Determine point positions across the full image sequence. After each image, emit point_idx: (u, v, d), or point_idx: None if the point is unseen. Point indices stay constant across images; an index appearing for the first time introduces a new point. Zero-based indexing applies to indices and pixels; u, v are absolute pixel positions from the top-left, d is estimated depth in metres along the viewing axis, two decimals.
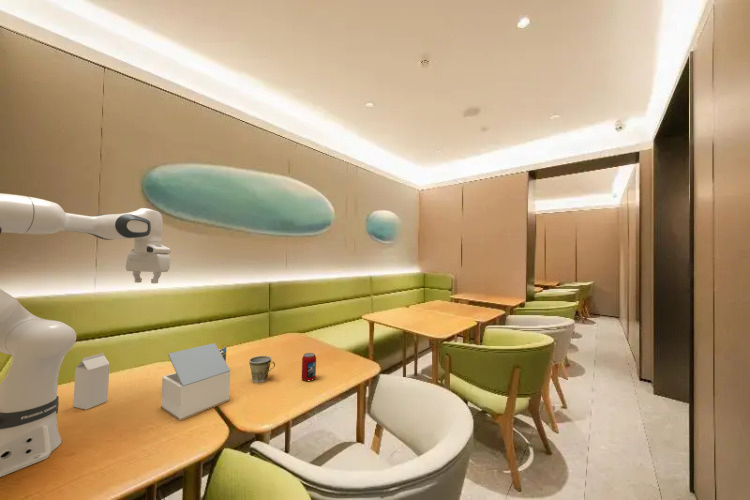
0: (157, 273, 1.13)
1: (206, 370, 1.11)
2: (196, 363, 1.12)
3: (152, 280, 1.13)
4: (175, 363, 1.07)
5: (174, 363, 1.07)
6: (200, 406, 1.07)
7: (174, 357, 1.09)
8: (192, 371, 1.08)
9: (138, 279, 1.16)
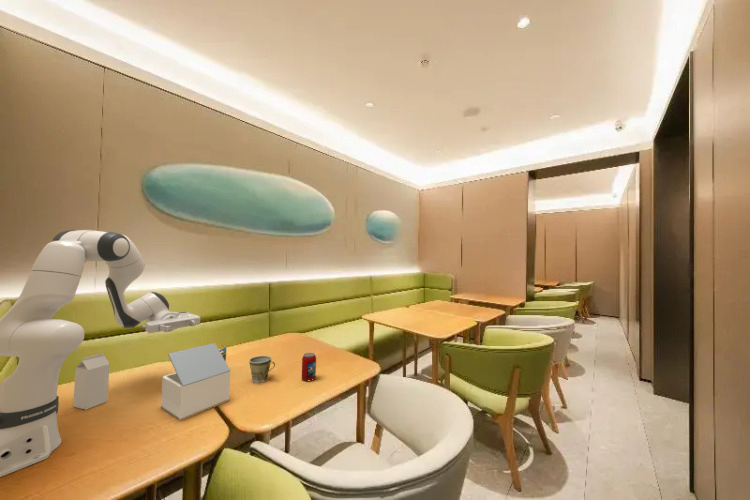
0: None
1: (206, 370, 1.11)
2: (196, 363, 1.12)
3: (192, 321, 1.27)
4: (175, 363, 1.07)
5: (174, 363, 1.07)
6: (200, 406, 1.07)
7: (174, 357, 1.09)
8: (192, 371, 1.08)
9: None
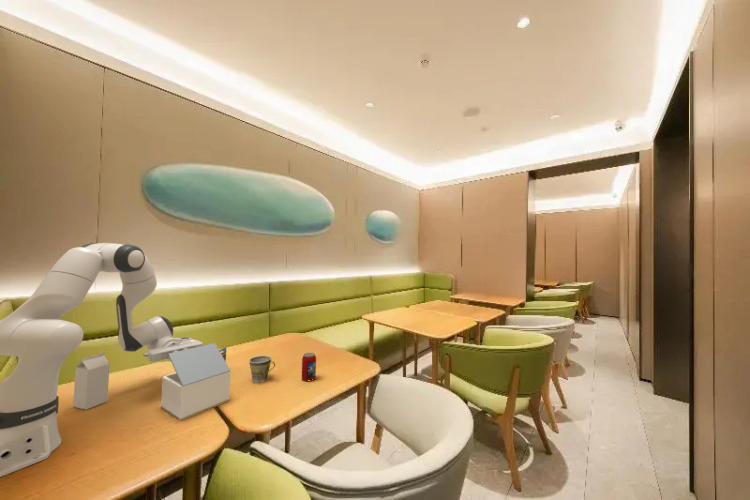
0: None
1: (206, 370, 1.11)
2: (196, 363, 1.12)
3: None
4: (175, 363, 1.07)
5: (174, 363, 1.07)
6: (200, 406, 1.07)
7: (174, 357, 1.09)
8: (192, 371, 1.08)
9: None
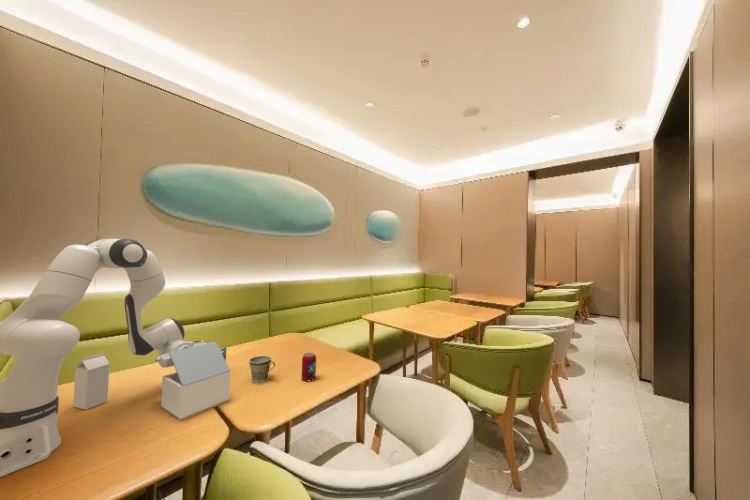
0: None
1: (206, 370, 1.11)
2: (196, 362, 1.12)
3: None
4: (175, 362, 1.07)
5: (175, 362, 1.07)
6: (200, 406, 1.07)
7: (174, 356, 1.09)
8: (192, 371, 1.08)
9: None
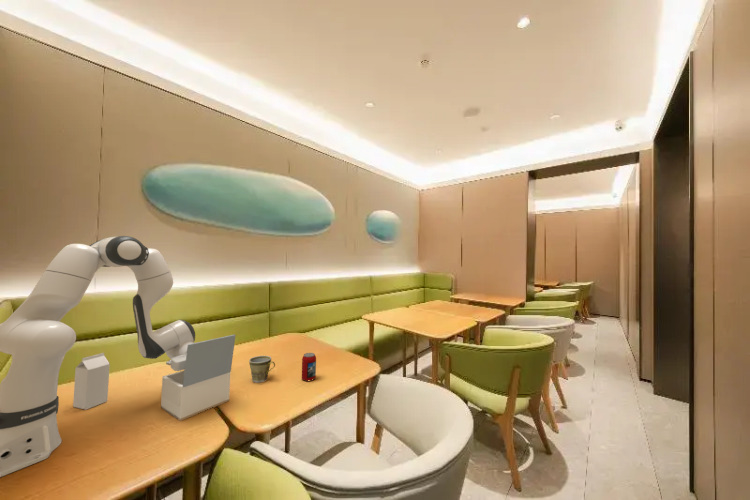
0: None
1: (211, 370, 1.10)
2: (207, 360, 1.08)
3: None
4: (188, 359, 1.02)
5: (188, 359, 1.02)
6: (200, 406, 1.07)
7: (191, 351, 1.02)
8: (198, 370, 1.06)
9: None
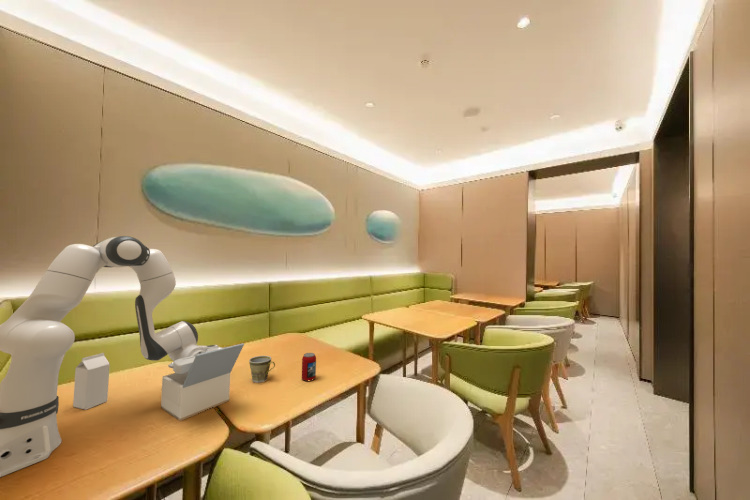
0: None
1: (212, 373, 1.09)
2: (211, 366, 1.06)
3: None
4: (194, 366, 1.00)
5: (193, 366, 1.00)
6: (200, 406, 1.07)
7: (198, 360, 1.00)
8: (201, 374, 1.05)
9: None
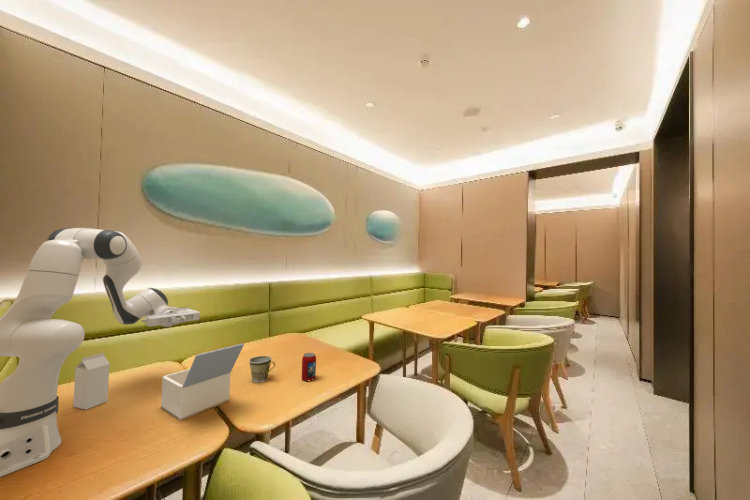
0: None
1: (212, 373, 1.09)
2: (211, 366, 1.06)
3: (182, 317, 1.24)
4: (194, 366, 1.00)
5: (193, 366, 1.00)
6: (200, 406, 1.07)
7: (198, 360, 1.00)
8: (201, 374, 1.05)
9: None
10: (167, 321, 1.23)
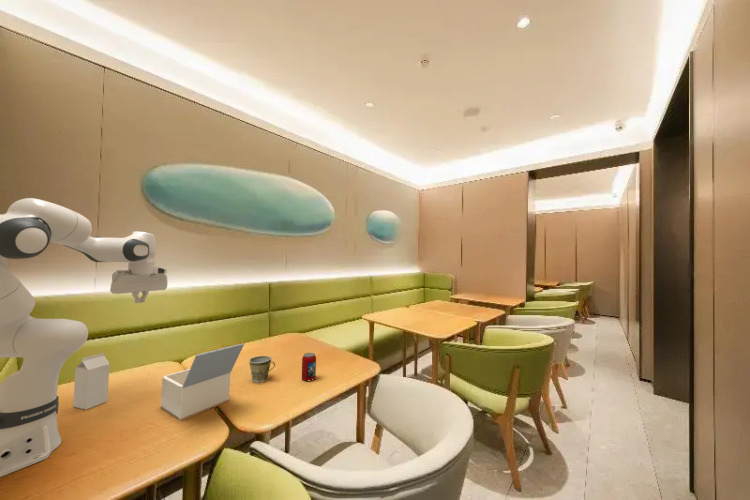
0: None
1: (212, 373, 1.09)
2: (211, 366, 1.06)
3: (143, 299, 1.21)
4: (194, 366, 1.00)
5: (193, 366, 1.00)
6: (200, 406, 1.07)
7: (198, 360, 1.00)
8: (201, 374, 1.05)
9: None
10: None
